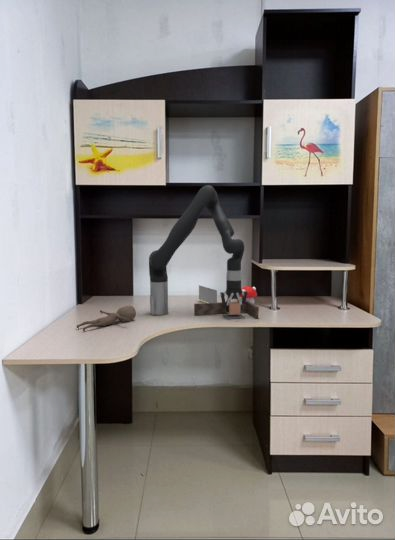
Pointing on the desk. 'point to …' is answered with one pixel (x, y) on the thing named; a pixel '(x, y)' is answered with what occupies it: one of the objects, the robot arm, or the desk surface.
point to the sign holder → (207, 295)
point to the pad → (233, 316)
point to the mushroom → (249, 293)
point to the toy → (112, 317)
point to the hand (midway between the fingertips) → (233, 311)
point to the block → (234, 308)
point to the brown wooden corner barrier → (224, 309)
